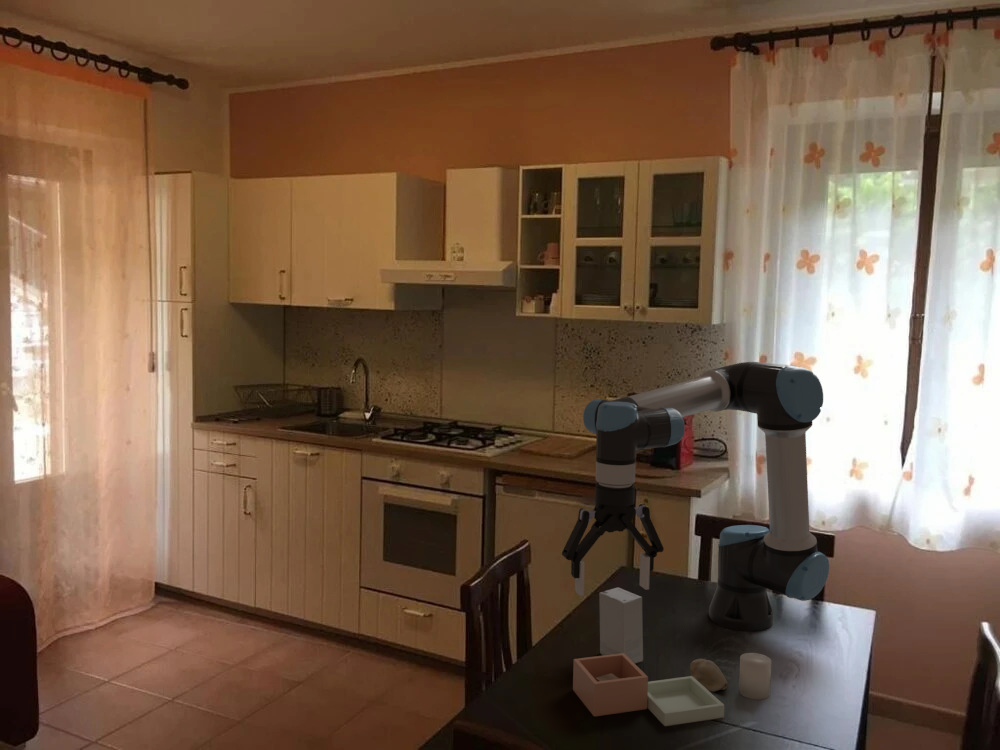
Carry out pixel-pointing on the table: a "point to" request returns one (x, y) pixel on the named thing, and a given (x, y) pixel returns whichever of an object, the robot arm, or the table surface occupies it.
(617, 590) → the skincare box
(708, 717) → the green dish
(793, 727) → the table surface
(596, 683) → the pink open box
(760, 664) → the beige rounded capsule
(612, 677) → the walnut block
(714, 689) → the stone
